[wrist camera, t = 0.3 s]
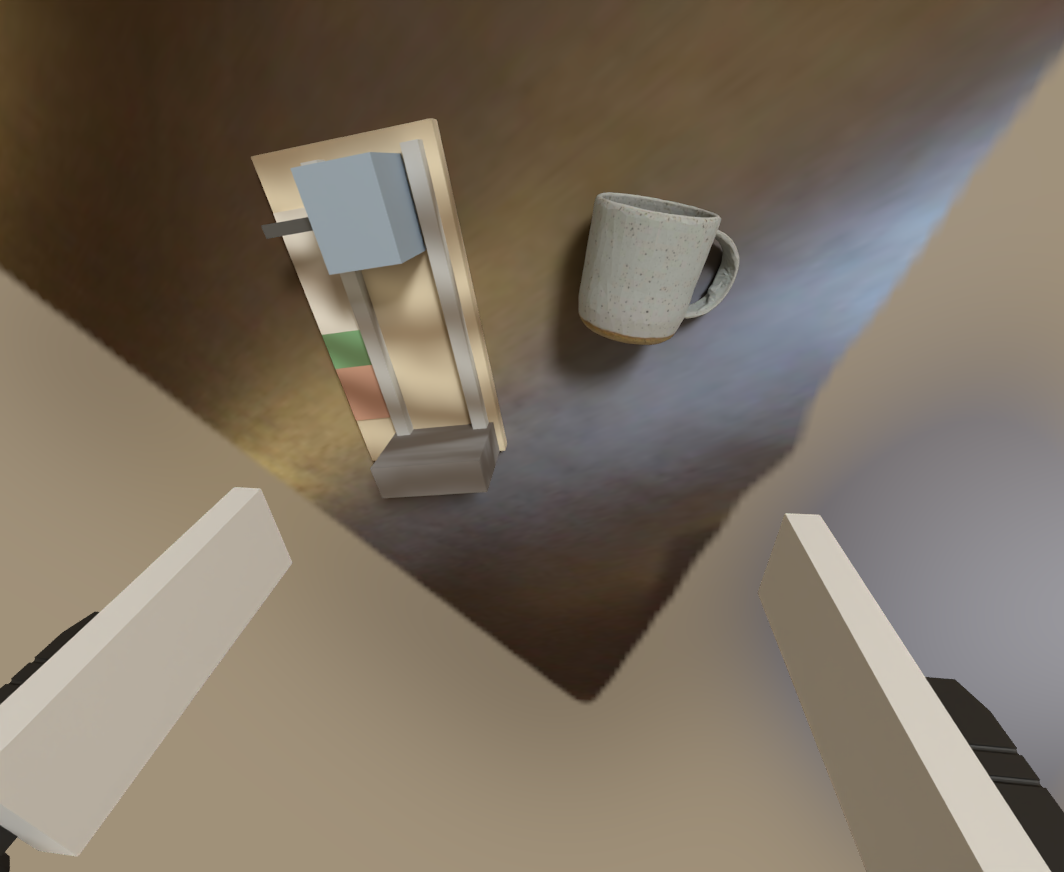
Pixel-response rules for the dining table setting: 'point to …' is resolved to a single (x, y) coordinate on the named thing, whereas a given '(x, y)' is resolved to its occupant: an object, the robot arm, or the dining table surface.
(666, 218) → the ceramic mug
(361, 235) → the carriage
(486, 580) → the dining table surface
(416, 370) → the gauge base
